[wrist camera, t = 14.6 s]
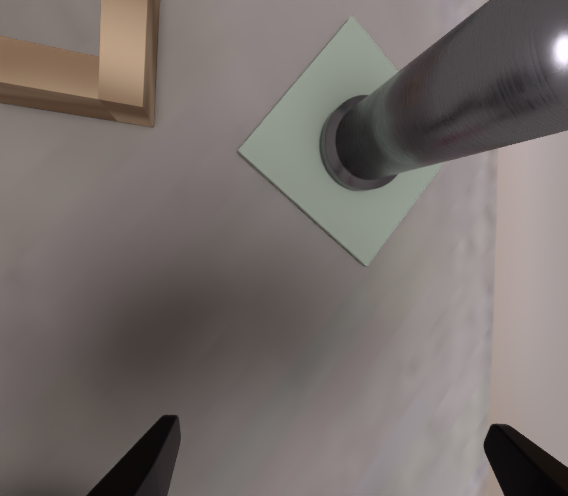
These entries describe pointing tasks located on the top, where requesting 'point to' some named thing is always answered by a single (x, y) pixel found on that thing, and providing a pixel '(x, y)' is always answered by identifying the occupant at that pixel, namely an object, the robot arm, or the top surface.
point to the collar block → (90, 69)
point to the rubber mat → (306, 155)
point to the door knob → (457, 97)
